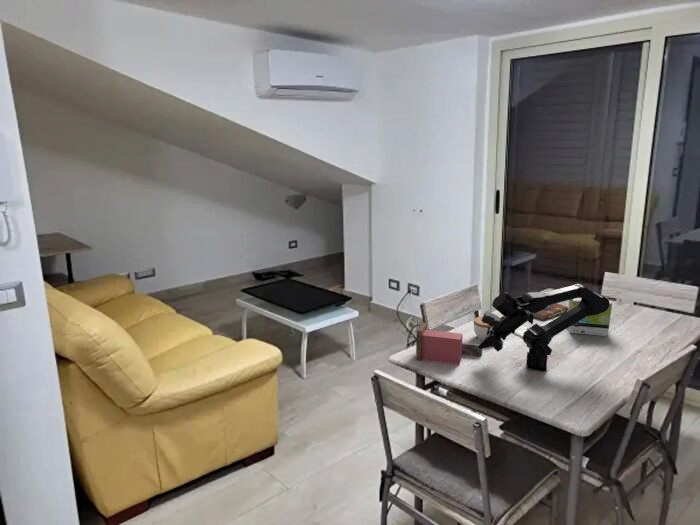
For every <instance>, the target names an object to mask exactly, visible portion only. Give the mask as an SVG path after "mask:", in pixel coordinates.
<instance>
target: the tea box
mask: <svg viewBox="0 0 700 525" xmlns="http://www.w3.org/2000/svg"><path fill="white" fill-rule="evenodd" d="M605 297H606V298H608V297H607V296H605ZM581 299H582V298H580V297H579V298H575V299H571V300H568V306H567V307H568V311H569V310H571V309H573V308H574V307H576V306H577V305H578V304H579V303H580V301H581ZM608 300H609V302H610V303H609V308H608V310H606V311H605V312H603V313H600V314H598V315H593V316H587V317H585V318H583V319H582V320H580V321H578V322H577V323H575V324H574V325H572V326H570V327H569V328H567V330H568V332H569V333H570V334H581V335H589V336H591V335H592V336H601V337H608V335H609V331H610V323H611V322H610V321H611V317H612V316H611V314H612V307H613V304H612V302H611V301H610V299H609V298H608ZM568 311H567V312H568Z"/></svg>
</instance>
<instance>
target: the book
mask: <svg viewBox="0 0 700 525" xmlns="http://www.w3.org/2000/svg"><path fill="white" fill-rule="evenodd" d="M518 308H520V307H518ZM520 309H521V308H520ZM525 311H526V310H525ZM526 312H527V313H529V314H533V316H534V318H533V319H537V320H540V321H546V320H550V319H553V318H554V317H556V316H559V315H560V316H561V315H563V314H564V313H566V312H568V306H566V305H563V304H561V303H555V304H552V305H549V306H548V307H546V308H545V309H544V310H542V311H539V312H537V313H531V312H530V311H526Z"/></svg>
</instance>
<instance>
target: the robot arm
mask: <svg viewBox="0 0 700 525" xmlns="http://www.w3.org/2000/svg"><path fill="white" fill-rule="evenodd" d="M508 293H509V292H508ZM508 293H507V292H506V291H505V292H503V294H499V295H498V296H495V298H494V299H493V301H492V303H491V304H492V305H491V306H492V307H493V309H495V310H496V311H497V312H498V313H500V314H501V315H502V316H500V317H499V315H497V314H495V313H493V312H491V311H489V310H485V312H484V314H483V317H482V316H481V317H482V320H481V321H482V322H483V323H486V324H488V325H490V326H492V328H491V329H490V328H489V327H488V330H487V334H486V337H485V338H484V339H483V340H481V342H480V343H478V344H479V346H478V348H479V349H482V350H483V349H486V348H493V349H494V350H495V351H496V352H500V351H501V350H503V348H504V347H503V346H504V341H506V340H507V337H508V336H510V335H511V334H512V335H514V333H515V330H516V329H517V328H519V327H520V326H523V325H524V324H525V323H527V322H528V323H529V324H530V325H532V326H530V327H526V328H527V331H525V332H524V335H523V338H522V340H523V342H524V344H526V347H527V348H528V351H527V353H526V363H525V364H526V366H527V369H528V370H534V371H543V372H547V370H548V366H547V364H548V356H551V354H552V352H553V349H552V348H551V347H550V346H549V344H550V343H551V342H552V339H553V338H554V337H555V336H557V335H559V334H560V333H562V332H564V331H566V330H568V328H569V327H570V326H572V325H574V324H575V323H577V322H578V321H580V320H582V319H583V318H585V317H587V316H593V315H598V314H600V313H603V312H605V311H606V310H608V308H609V303H610V302H611V301H610V299H609V298H608V297H607V296H604V295H602V294H600V293H598V292H595V291H592V290H591V289H589V288H588V287H587V286H585V285H583V284H581V283H575V284H573V285H570V286H565V287H561V288H557V289H554V290H549V291H546V292H543V291H542V292H539V291H533V292H532V291H530V292H525V293H523V294H522V295H520V296H517V297H512V296H511V295H510V294H508ZM579 297H580V298H582V299H581V301H580V303H579V304H578V305H577V306H576V307H574V308H573V309H571V310H569V311H567V312H564V313H562V315H560V316H559V315H558V317H557V318H555V319H553V320H551V321H549V322H548V323H546V324H545V325H539V324H538V323H534V319H535V318H534V316H533V314H529V313H527V312H526V311H530V312H531V313H537V312H539V311H542V310H544V309H545V308H546V307H548V306H549V305H552V304H555V303H558V304H560V303H563V302H567V301H569V300H571V299H575V298H579ZM606 297H607V298H606ZM608 299H609V300H608ZM609 301H610V302H609ZM518 307H520V308H521V309H520V308H518ZM525 310H526V311H525Z"/></svg>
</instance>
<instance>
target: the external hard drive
mask: <svg viewBox="0 0 700 525" xmlns="http://www.w3.org/2000/svg"><path fill="white" fill-rule="evenodd" d="M527 328H528V327H526V326H523V325H521V326H520V327H519V328H517V329H516V330H515V333H513V335H516V336H518V337H519V338H521V339H523V335H524V332H525V331H527Z"/></svg>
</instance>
